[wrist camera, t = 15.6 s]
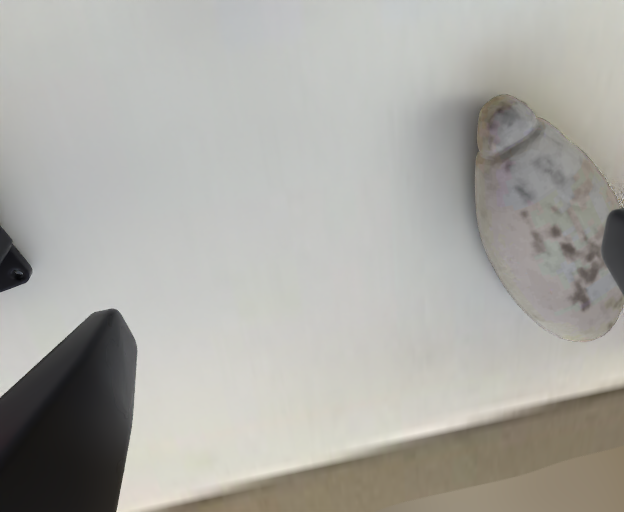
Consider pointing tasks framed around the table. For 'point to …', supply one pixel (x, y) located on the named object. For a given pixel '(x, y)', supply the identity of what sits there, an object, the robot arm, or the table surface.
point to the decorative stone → (544, 221)
